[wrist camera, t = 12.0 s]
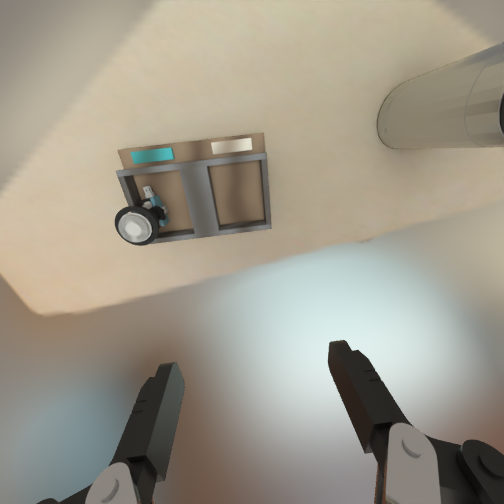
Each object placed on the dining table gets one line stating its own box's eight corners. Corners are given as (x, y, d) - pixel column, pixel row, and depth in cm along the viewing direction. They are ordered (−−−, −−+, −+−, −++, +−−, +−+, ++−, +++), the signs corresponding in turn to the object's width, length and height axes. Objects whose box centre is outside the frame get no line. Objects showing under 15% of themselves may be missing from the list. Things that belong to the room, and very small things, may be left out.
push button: (133, 189, 33) (96, 203, 24) (165, 181, 33) (139, 193, 24) (151, 227, 36) (123, 252, 27) (180, 220, 36) (162, 243, 27)
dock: (262, 133, 33) (266, 131, 29) (269, 224, 39) (273, 232, 35) (122, 150, 32) (106, 150, 28) (153, 238, 39) (143, 248, 35)
